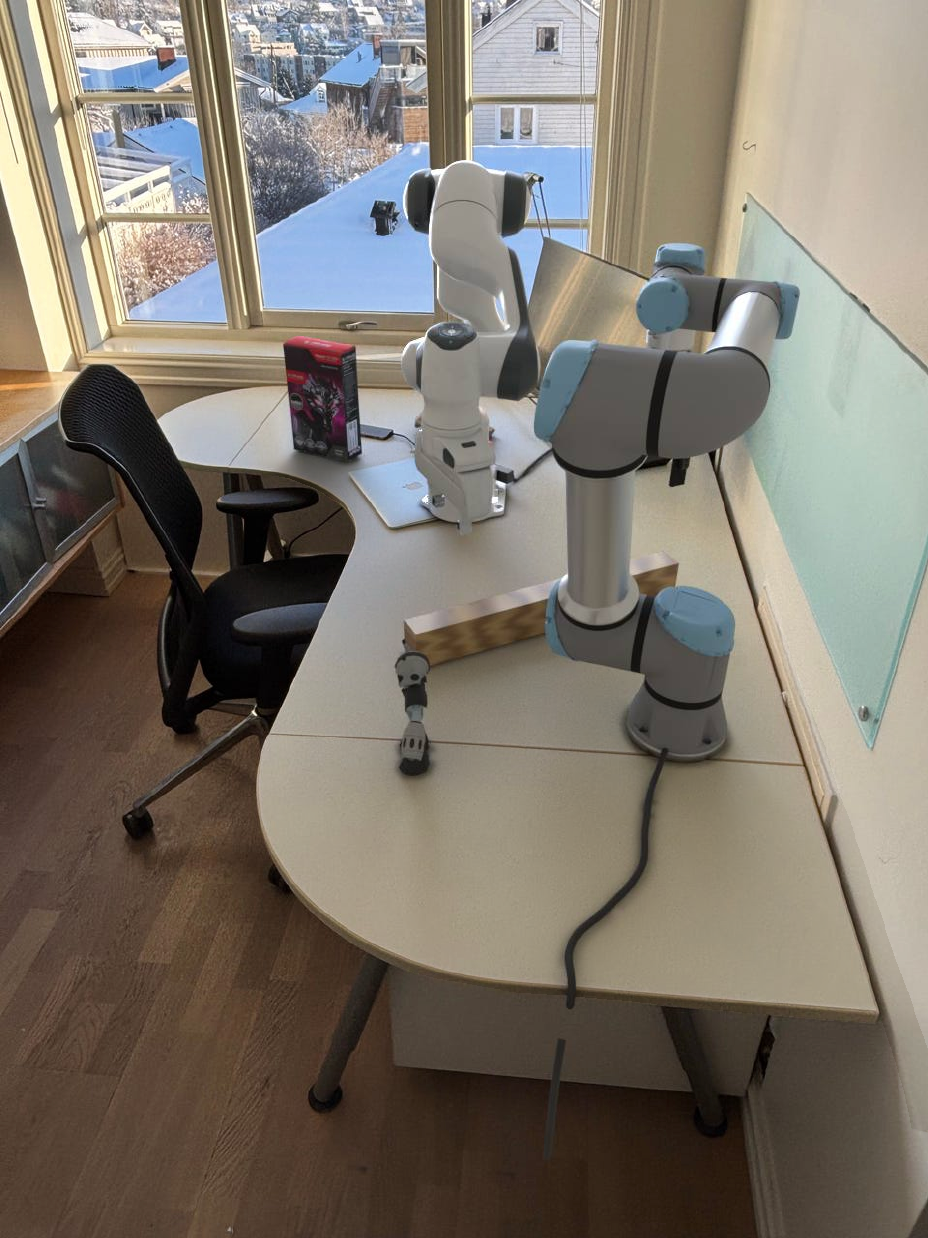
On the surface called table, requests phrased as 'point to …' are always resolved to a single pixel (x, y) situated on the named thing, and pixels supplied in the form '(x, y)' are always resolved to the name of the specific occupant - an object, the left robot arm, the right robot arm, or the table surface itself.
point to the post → (511, 614)
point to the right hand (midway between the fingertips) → (652, 470)
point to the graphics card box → (323, 397)
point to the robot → (413, 710)
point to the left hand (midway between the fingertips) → (450, 518)
